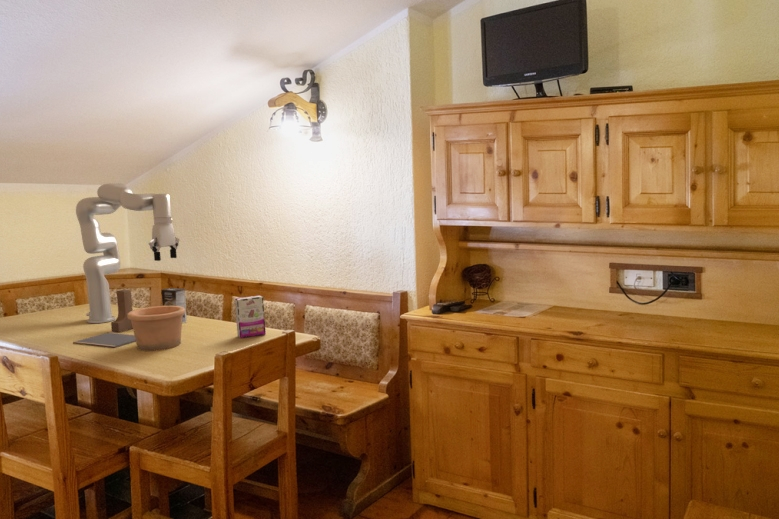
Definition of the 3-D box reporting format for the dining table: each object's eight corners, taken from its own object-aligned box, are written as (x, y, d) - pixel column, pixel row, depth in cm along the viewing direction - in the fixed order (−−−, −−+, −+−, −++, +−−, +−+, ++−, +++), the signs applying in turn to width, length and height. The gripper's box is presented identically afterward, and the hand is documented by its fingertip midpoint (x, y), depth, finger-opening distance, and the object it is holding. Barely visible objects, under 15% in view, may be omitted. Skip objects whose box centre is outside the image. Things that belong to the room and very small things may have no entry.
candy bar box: (262, 332, 275) (260, 294, 273) (266, 334, 271) (263, 296, 269) (236, 336, 270) (234, 297, 268) (239, 338, 266) (237, 299, 264)
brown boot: (118, 332, 284) (115, 292, 282) (111, 332, 286) (107, 292, 284) (134, 328, 293) (131, 289, 290) (127, 327, 294) (123, 289, 292)
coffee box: (163, 323, 301) (160, 289, 299) (173, 320, 307) (171, 287, 305) (177, 324, 297) (174, 290, 295) (187, 321, 303) (185, 288, 301)
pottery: (131, 355, 244) (128, 318, 243) (129, 343, 264) (126, 309, 263) (190, 348, 253) (187, 312, 251) (184, 336, 273) (181, 303, 271)
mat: (73, 343, 268) (73, 341, 267) (108, 333, 284) (108, 332, 284) (114, 348, 257) (114, 346, 257) (148, 337, 273) (148, 336, 273)
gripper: (170, 220, 296) (173, 256, 298) (141, 222, 281) (144, 261, 283) (183, 220, 293) (185, 257, 295) (154, 222, 278) (157, 261, 280)
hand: (165, 259), depth 289 cm, fingers open, 9 cm apart
